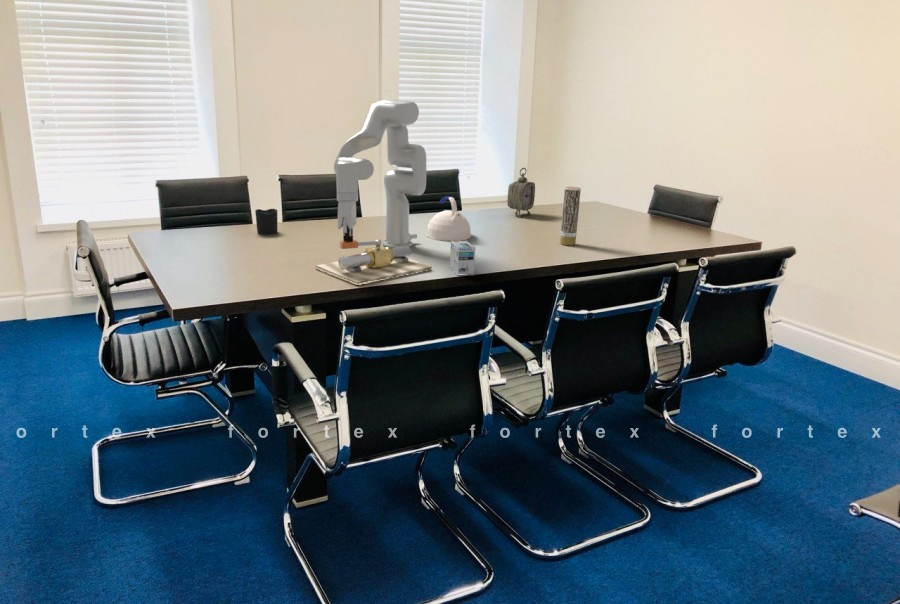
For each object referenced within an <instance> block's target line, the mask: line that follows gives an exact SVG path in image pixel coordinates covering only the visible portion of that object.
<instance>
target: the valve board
mask: <svg viewBox="0 0 900 604" xmlns="http://www.w3.org/2000/svg"><path fill="white" fill-rule="evenodd" d="M338 261H339V260H338ZM338 261H333V262H328V263H321V264H317V265H316V264H315V268H316V267H317V268H319V269H322V270H324V271H327V272H329V273H332V274H334V275H337V276H339V277H341V278H344V279H347V280H349V281H352V282H354V283H357V284H359V283H363V282H368V281H374V280H380V279H387V278H392V277H396V276H402V275H406V274H411V273H416V272H421V271H426V270H431V269H432V270H433V266H431V265H429V264H426V263H422V262H420V261H416V260H414V259H411V258H408V263H403V264H402V263H399V262H396V261H394V260H393V261H392V262H391V265H388V266H383V267H378V268H374V267H371V266H370V267H366V266H360V267H361V272H358V273H353V272H350V271H347V270H346V269H345V270H342V269H340V267H339V264H338ZM432 270H431V271H432ZM426 272H427V271H426ZM421 273H422V272H421Z"/></svg>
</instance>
